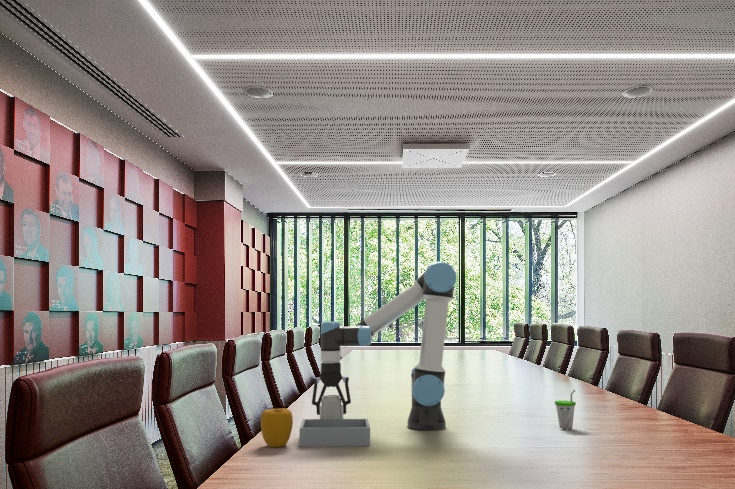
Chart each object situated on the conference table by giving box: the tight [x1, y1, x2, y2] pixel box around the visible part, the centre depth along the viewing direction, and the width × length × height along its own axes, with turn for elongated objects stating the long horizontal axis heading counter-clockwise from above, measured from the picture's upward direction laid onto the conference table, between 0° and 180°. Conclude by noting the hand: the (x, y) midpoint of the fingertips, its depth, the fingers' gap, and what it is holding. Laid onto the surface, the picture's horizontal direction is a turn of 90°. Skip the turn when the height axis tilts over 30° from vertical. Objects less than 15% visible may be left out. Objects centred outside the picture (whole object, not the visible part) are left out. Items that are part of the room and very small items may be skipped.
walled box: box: [298, 418, 371, 447], centre depth 218 cm, size 24×18×6 cm
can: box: [321, 394, 342, 419], centre depth 234 cm, size 8×8×12 cm
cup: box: [554, 389, 577, 430], centre depth 241 cm, size 8×8×15 cm
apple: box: [260, 407, 294, 448], centre depth 210 cm, size 11×11×13 cm
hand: (331, 423), depth 233 cm, fingers closed on can, 7 cm apart
